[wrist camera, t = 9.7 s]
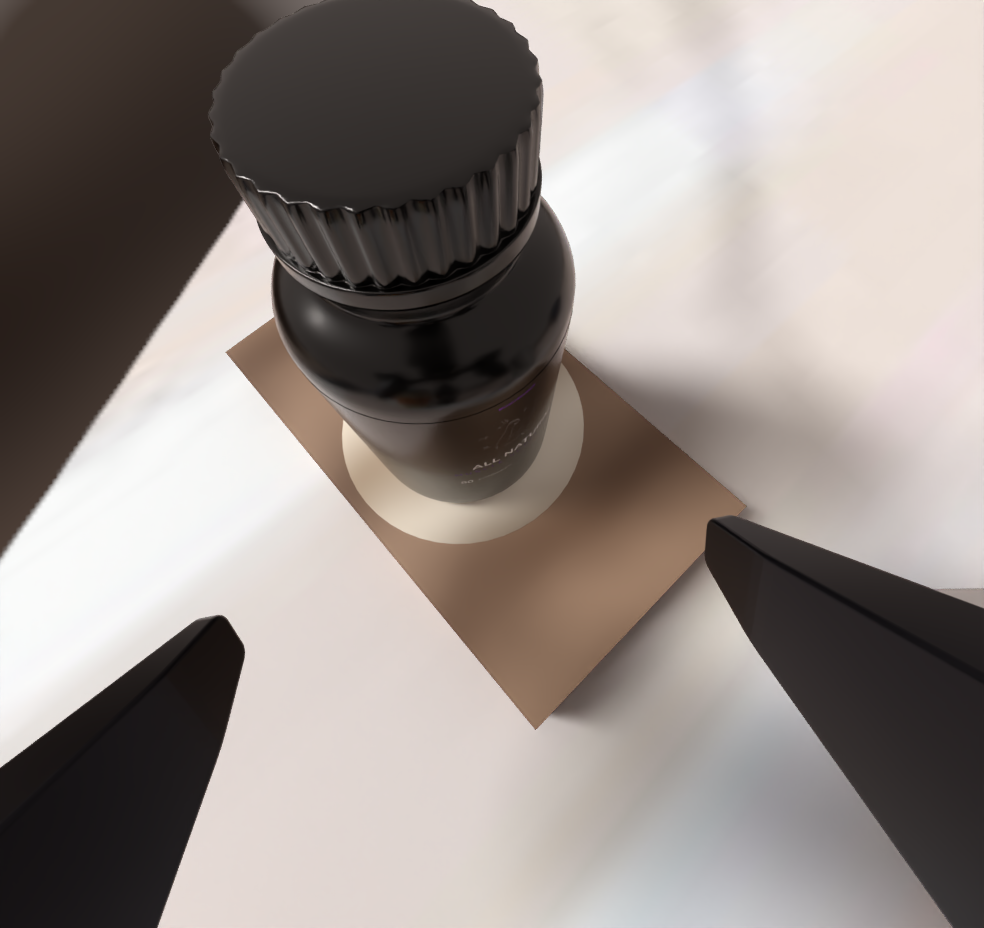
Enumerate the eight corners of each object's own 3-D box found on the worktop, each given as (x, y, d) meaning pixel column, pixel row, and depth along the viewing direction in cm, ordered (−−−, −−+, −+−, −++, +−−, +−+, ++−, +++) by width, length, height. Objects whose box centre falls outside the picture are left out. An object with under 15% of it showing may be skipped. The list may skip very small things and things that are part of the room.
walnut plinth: (721, 515, 18) (746, 506, 16) (532, 713, 16) (535, 730, 14) (420, 249, 23) (412, 216, 21) (252, 374, 21) (225, 351, 19)
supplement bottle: (525, 525, 16) (559, 338, 4) (358, 484, 17) (18, 237, 5) (562, 369, 18) (650, -41, 6) (410, 338, 19) (247, -72, 7)
